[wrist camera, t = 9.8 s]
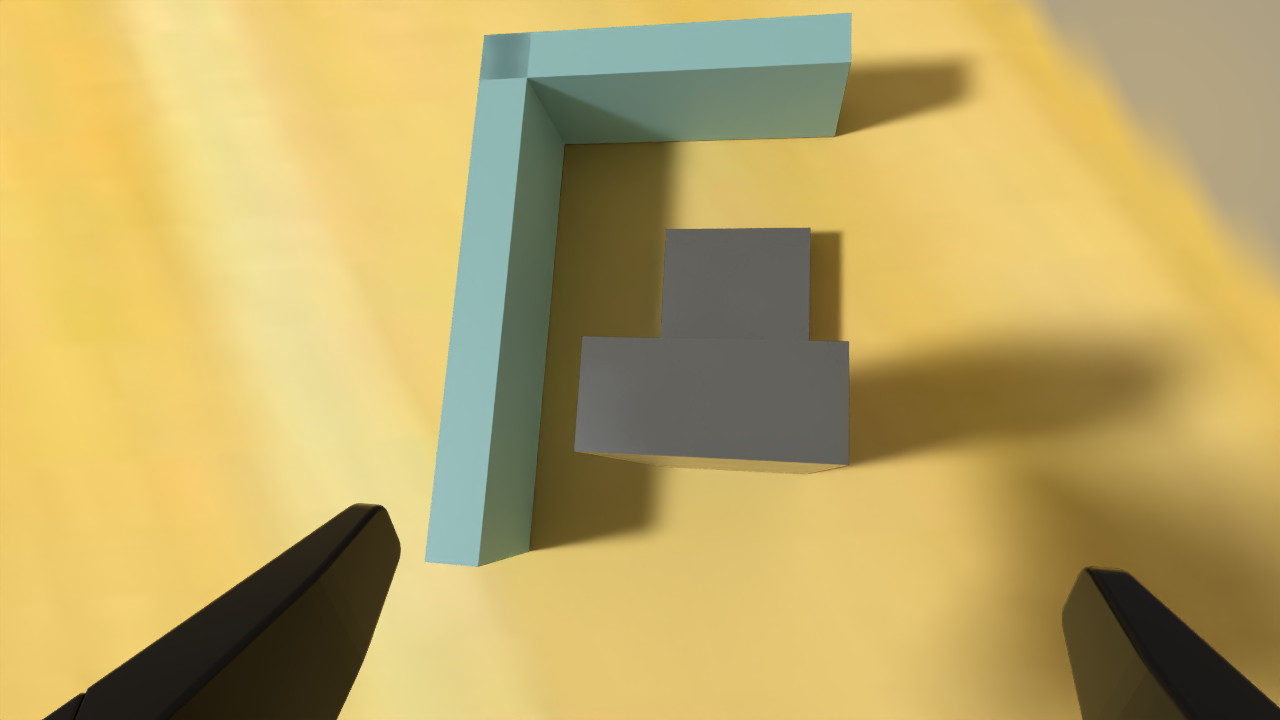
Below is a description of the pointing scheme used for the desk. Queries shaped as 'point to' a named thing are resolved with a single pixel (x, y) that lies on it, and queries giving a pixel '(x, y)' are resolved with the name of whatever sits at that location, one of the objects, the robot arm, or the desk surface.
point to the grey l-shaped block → (722, 365)
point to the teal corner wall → (529, 207)
